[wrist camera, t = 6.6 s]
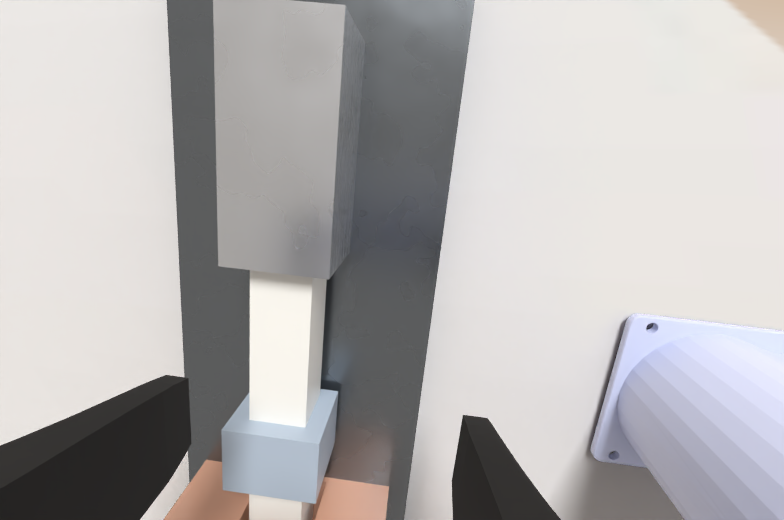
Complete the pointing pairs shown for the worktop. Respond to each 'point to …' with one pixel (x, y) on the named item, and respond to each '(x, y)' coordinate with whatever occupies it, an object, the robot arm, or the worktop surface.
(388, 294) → the sleeve base
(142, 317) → the worktop surface
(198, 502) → the socket block
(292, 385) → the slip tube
